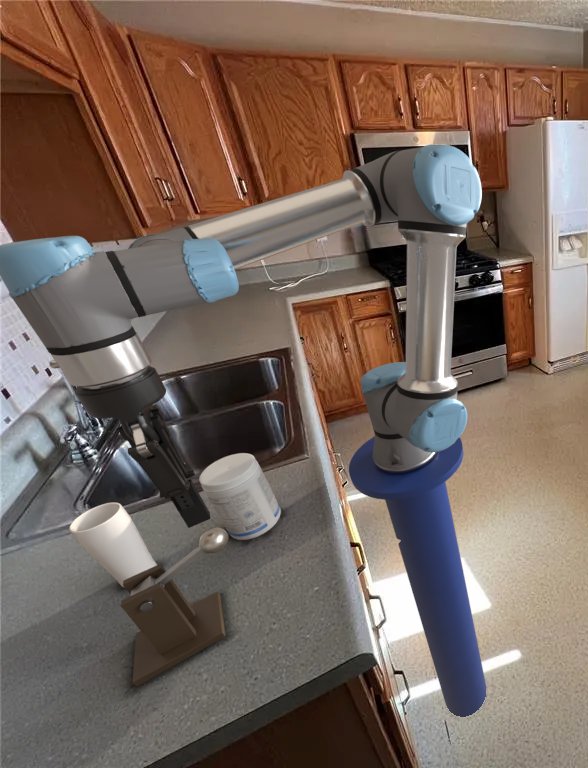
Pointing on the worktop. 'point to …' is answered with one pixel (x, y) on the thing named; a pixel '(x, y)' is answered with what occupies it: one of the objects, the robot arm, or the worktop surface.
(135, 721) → the worktop surface
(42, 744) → the worktop surface
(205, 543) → the tap lever
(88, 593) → the worktop surface
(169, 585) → the bracket
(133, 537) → the white tapered cylinder
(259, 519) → the supplement tub
